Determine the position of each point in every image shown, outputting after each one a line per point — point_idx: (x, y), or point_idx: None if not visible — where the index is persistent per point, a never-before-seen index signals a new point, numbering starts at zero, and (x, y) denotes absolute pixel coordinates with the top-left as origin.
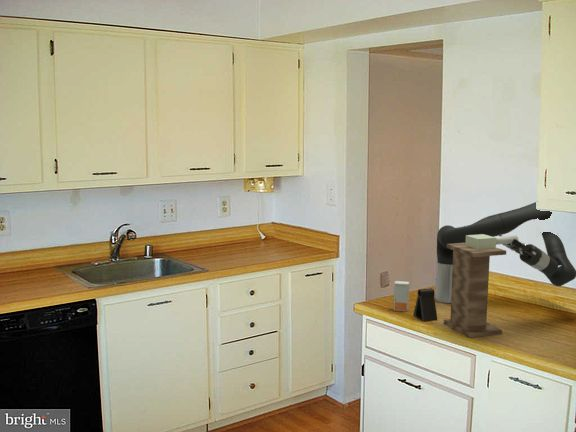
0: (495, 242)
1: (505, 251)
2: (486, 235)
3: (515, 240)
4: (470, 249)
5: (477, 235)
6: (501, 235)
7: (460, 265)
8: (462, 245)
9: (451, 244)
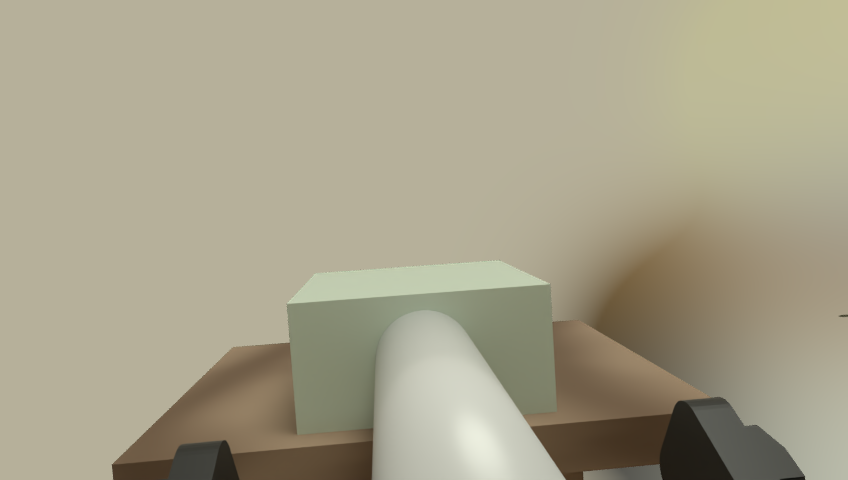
0: (292, 359)
1: (118, 468)
2: (459, 287)
3: (178, 475)
4: None
5: (478, 273)
6: (685, 405)
7: None
8: None
9: (560, 326)
